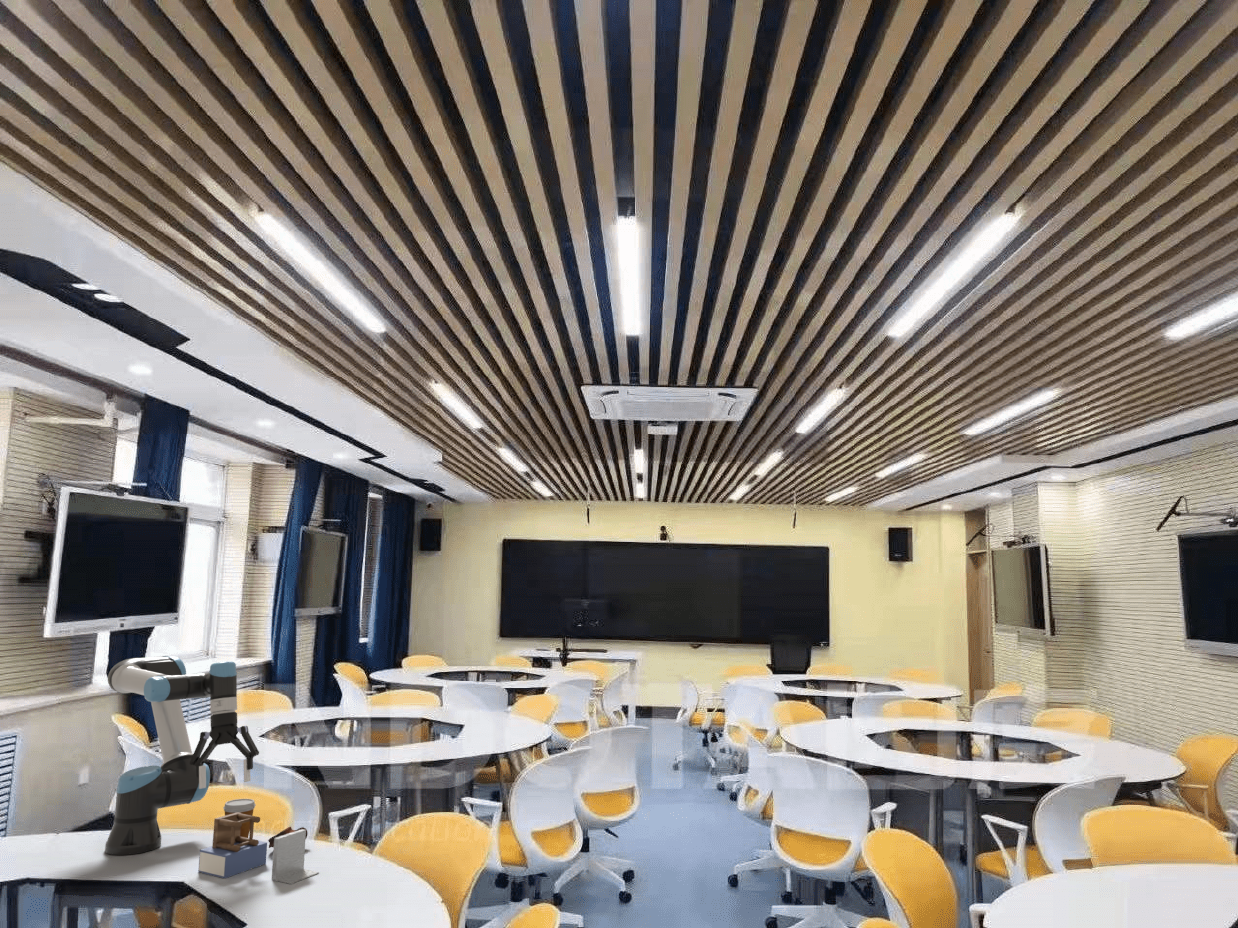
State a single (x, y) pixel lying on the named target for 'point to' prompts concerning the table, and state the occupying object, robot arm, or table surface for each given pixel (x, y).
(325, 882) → the table surface
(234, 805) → the disposable coffee cup
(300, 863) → the bookend
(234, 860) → the book
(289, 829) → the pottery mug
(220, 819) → the stool
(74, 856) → the table surface
